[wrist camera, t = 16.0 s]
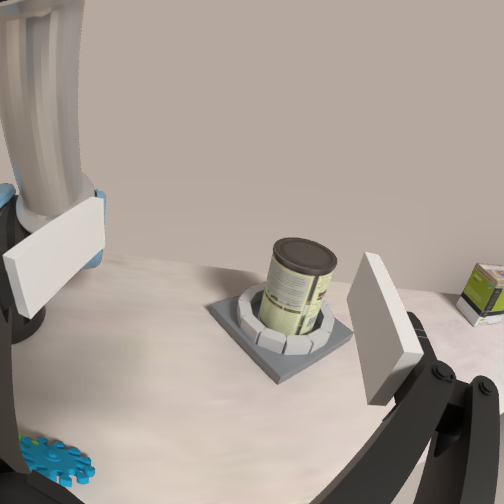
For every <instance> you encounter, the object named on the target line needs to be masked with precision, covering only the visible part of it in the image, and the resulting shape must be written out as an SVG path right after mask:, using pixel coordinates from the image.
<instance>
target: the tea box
mask: <svg viewBox="0 0 504 504" xmlns="http://www.w3.org/2000/svg"><path fill="white" fill-rule="evenodd" d="M456 307H457V308H458V309H459V311H460V312H461V313H462V314H463V315H464V316H465V318H466V319H467V320H468V321H469V322H470V323H471V324H472V325H473V326H481V325H488V324H495V323H499V322H500V320H501V318H502V317H503V315H504V268H503V267H502V265H493V264H484V263H476V265H475V267H474V269H473V271H472V274H471V277H470V278H469V280H468V282H467V285H466V287H465V288H464V290H463V292H462V294H461V296H460V298H459V300H458V302H457V304H456Z"/></svg>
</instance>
